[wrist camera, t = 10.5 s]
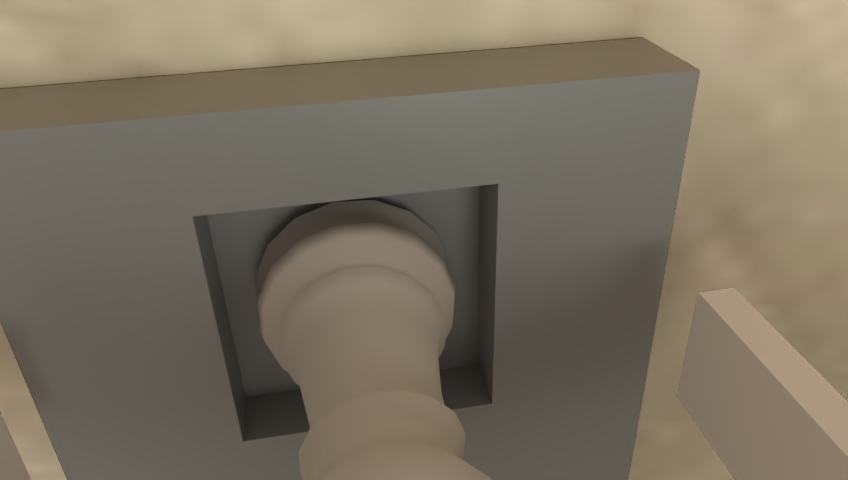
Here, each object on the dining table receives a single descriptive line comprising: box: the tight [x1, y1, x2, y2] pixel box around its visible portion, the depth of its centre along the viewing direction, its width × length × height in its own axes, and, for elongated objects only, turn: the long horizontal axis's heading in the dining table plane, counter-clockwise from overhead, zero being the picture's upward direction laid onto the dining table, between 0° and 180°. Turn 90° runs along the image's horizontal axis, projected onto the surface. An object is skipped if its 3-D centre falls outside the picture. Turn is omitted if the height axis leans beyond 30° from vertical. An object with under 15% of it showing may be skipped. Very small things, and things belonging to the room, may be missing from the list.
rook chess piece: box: [255, 200, 491, 480], centre depth 13 cm, size 4×4×8 cm
